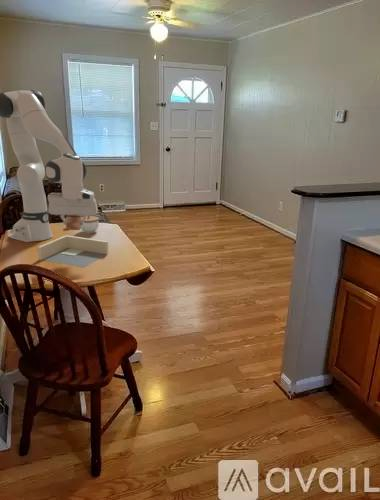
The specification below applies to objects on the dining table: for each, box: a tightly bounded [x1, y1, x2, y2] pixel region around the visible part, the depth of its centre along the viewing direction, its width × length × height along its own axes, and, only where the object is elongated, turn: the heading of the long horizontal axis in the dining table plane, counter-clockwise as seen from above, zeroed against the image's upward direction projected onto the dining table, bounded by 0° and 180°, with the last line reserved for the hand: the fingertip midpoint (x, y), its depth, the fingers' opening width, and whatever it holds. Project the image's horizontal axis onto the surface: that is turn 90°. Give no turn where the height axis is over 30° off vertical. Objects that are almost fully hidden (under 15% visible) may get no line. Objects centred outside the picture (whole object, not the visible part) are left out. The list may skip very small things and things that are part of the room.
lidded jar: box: [80, 215, 100, 234], centre depth 211 cm, size 11×11×9 cm
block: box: [65, 215, 82, 231], centre depth 166 cm, size 6×6×6 cm
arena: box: [37, 234, 110, 268], centre depth 171 cm, size 23×20×7 cm
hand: (73, 224), depth 166 cm, fingers closed on block, 5 cm apart
